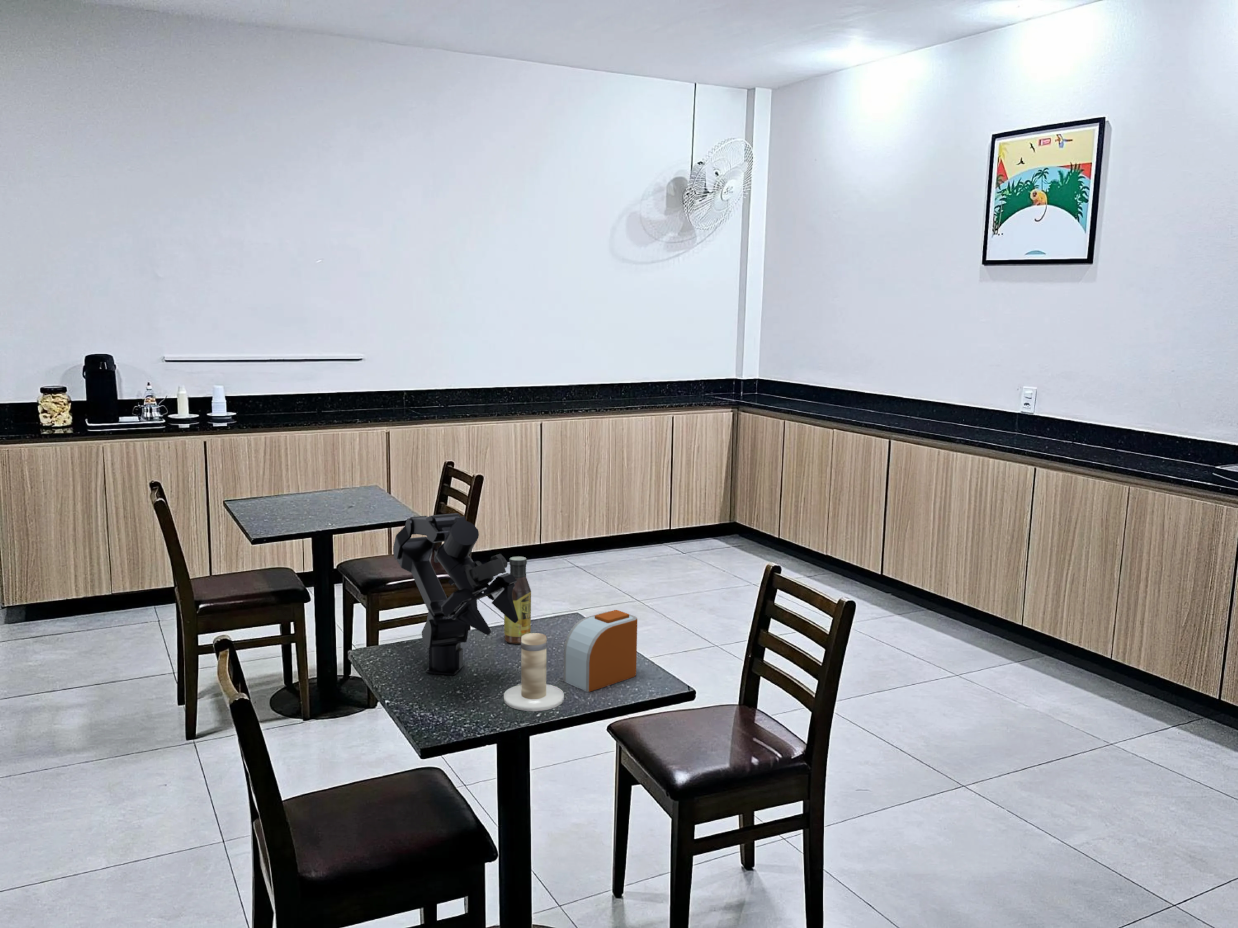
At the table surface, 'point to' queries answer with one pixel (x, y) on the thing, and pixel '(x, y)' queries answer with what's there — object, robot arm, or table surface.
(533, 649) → the beech handle
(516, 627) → the sauce bottle
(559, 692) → the ceramic plate
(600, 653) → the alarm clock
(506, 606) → the robot arm
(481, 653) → the table surface
